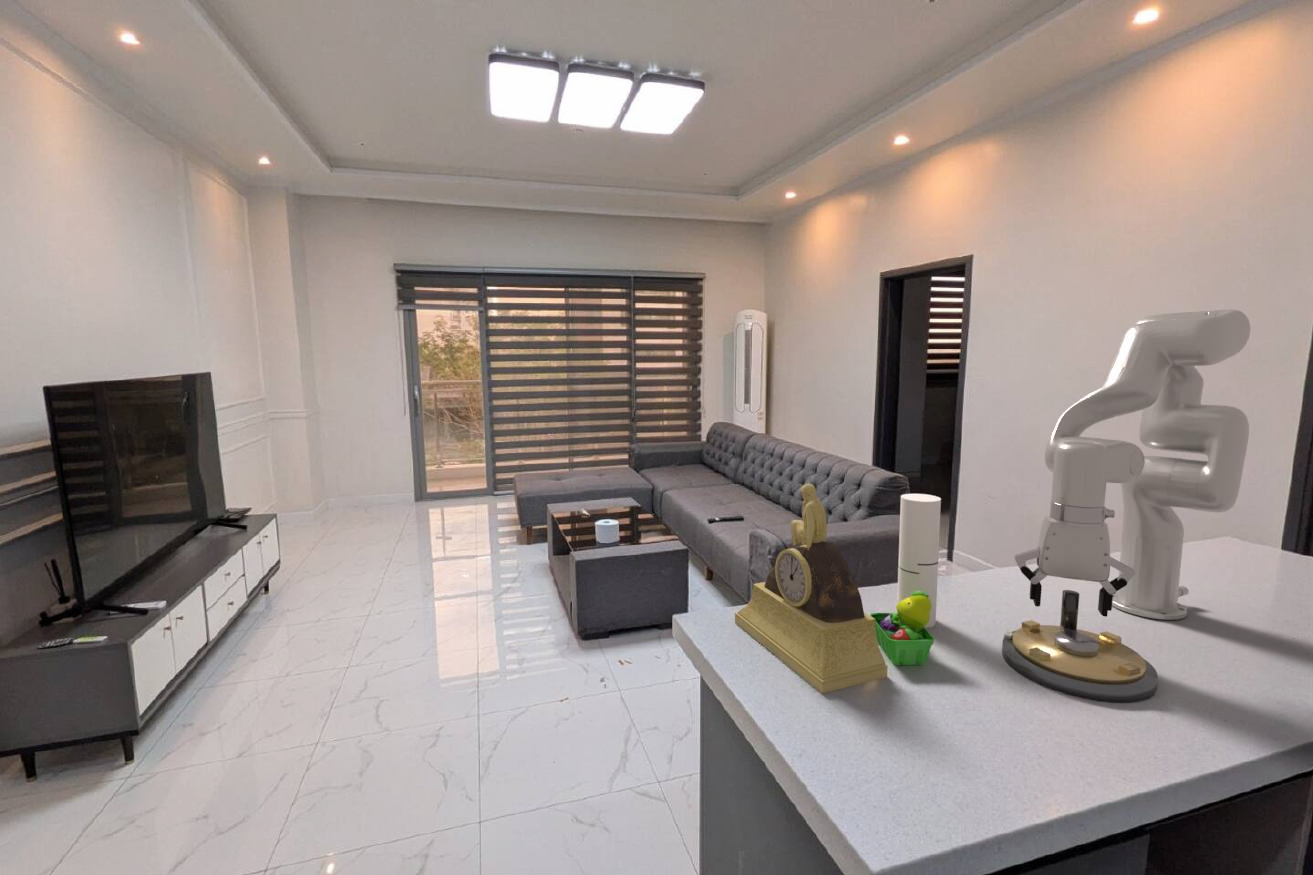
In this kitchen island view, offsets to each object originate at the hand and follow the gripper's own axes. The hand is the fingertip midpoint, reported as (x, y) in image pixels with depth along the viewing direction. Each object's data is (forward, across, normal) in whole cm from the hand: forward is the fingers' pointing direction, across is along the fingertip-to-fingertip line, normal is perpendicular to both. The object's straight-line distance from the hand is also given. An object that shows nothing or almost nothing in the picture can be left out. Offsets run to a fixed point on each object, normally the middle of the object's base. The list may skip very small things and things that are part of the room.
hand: (1068, 608), depth 103 cm
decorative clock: (+9, +42, +18) cm, 47 cm away
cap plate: (+8, 0, +7) cm, 10 cm away
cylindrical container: (+8, +24, -3) cm, 26 cm away
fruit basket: (+8, +26, +13) cm, 30 cm away
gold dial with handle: (+6, 0, +7) cm, 9 cm away
